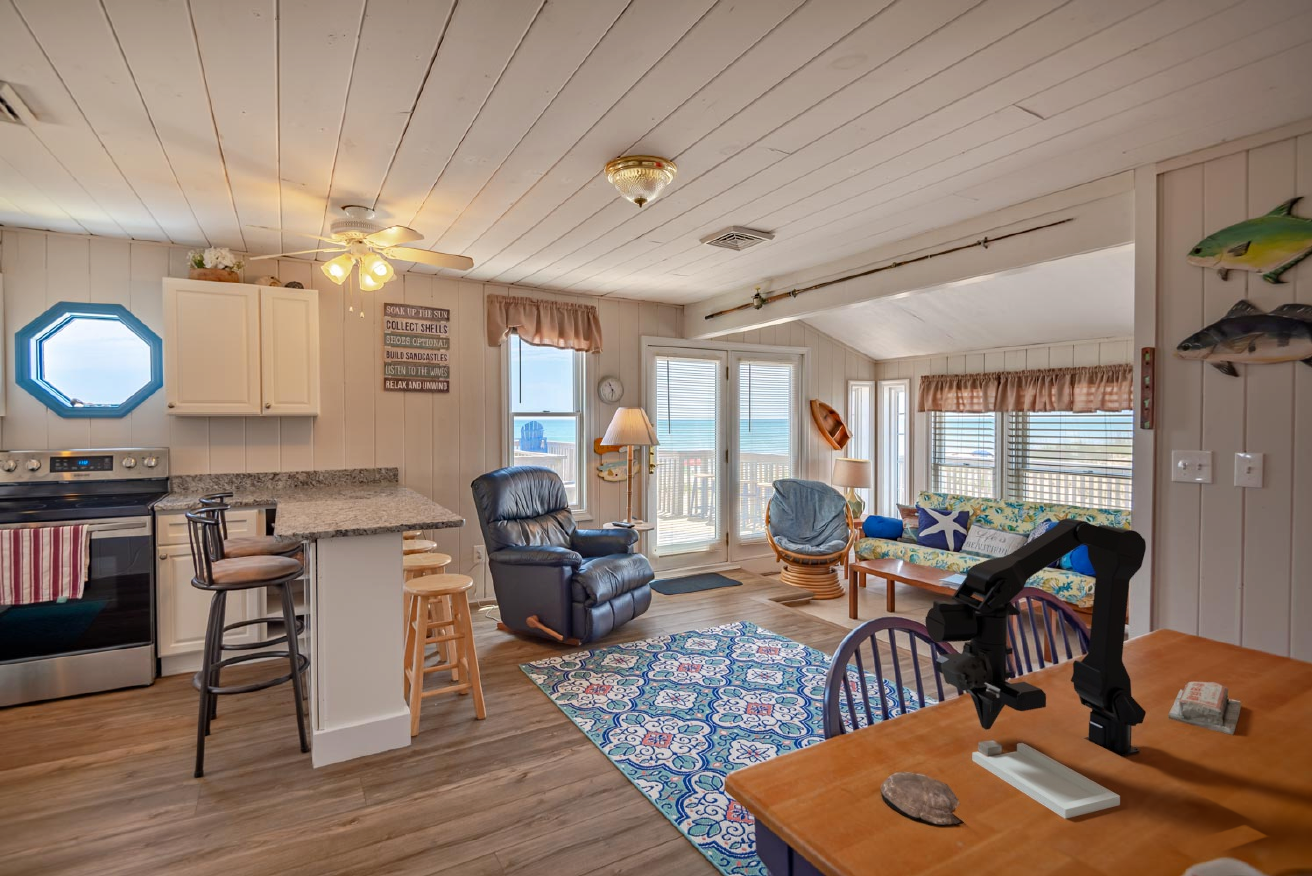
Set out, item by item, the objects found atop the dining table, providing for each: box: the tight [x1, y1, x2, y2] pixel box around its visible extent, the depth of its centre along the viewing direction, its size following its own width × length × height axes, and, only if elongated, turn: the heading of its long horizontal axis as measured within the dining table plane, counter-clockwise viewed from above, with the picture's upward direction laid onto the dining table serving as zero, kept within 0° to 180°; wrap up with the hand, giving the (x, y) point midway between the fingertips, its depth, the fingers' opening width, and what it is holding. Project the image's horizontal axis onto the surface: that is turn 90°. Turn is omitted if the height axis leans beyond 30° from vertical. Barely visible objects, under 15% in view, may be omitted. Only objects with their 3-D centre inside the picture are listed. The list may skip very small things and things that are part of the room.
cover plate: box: [977, 739, 1003, 757], centre depth 117 cm, size 8×10×3 cm
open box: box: [971, 742, 1121, 820], centre depth 104 cm, size 11×17×3 cm, turn 19°
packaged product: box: [1167, 681, 1242, 736], centre depth 134 cm, size 18×5×10 cm
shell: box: [879, 771, 965, 827], centre depth 101 cm, size 12×13×4 cm
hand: (986, 728), depth 115 cm, fingers closed
